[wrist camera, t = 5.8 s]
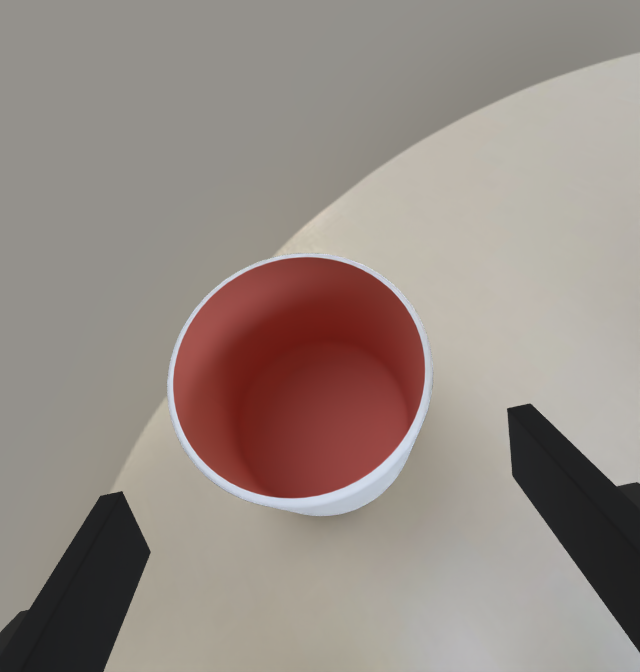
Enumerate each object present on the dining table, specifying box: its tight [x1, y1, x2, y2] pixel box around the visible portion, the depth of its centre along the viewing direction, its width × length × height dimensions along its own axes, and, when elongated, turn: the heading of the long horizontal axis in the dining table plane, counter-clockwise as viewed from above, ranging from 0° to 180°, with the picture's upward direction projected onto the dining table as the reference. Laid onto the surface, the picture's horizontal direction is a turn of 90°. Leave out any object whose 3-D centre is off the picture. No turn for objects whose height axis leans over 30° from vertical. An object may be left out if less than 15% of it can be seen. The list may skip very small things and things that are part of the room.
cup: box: [167, 253, 433, 516], centre depth 21 cm, size 10×10×10 cm
